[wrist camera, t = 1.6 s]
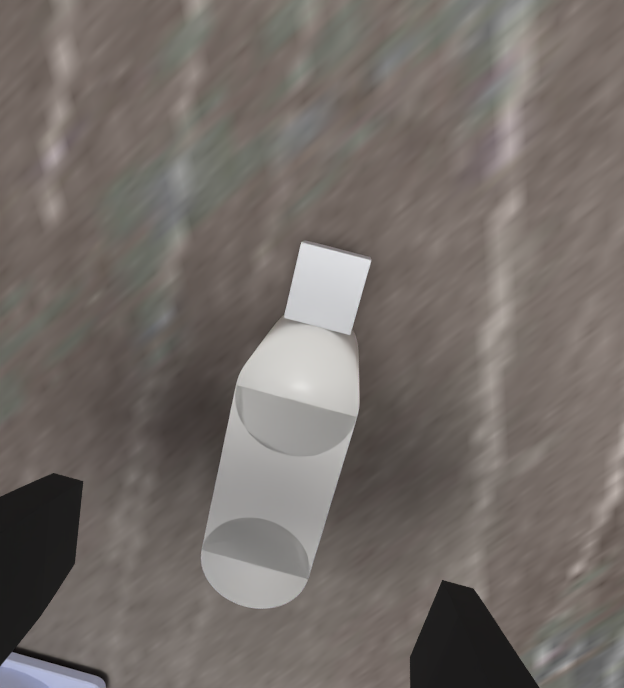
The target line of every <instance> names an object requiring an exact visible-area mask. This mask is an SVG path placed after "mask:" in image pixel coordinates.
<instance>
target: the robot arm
mask: <svg viewBox="0 0 624 688" xmlns="http://www.w3.org/2000/svg"><path fill="white" fill-rule="evenodd" d="M82 488H83V481H80V480H77V479H73V478H69V477H66V476H62V475H58V474H55V473H53V474H50V475H48V476H46V477H43V478H41V479H39V480H36V481H34V482H32V483H30V484H27V485H25V486H23V487H21V488H19V489H16V490H14V491H12V492H10V493H8V494H5V495H3V496H1V497H0V688H106V685H105V682H104V681H103V679H101V678H100V677H98V676H95V675H92V674H88V673H85V672H81V671H78V670H74V669H71V668H67V667H64V666H60V665H57V664H53V663H49V662H46V661H42V660H39V659H35V658H32V657H28V656H25V655H21V654H18V653H14V652H12V651H13V650H14V649H15V648H16V646H17V645H18V644H19V643H20V641H21V640H22V639H23V638H24V636H25V635H26V634H27V633H28V631H29V630H30V629H31V628H32V626H33V625H34V624H35V622H36V621H37V620H38V619H39V617H40V616H41V615H42V613H43V612H44V610H45V609H46V607H47V606H48V604H49V603H50V601H51V600H52V598H53V597H54V595H55V594H56V592H57V591H58V589H59V588H60V586H61V584H62V583H63V581H64V580H65V578H66V577H67V575H68V573H69V572H70V570H71V569H72V567H73V565H74V564H75V556H76V546H77V536H78V527H79V517H80V507H81V497H82ZM410 688H539V686H538V685H537V683H536V682H535V680H534V679H533V677H532V676H531V674H530V673H529V671H528V670H527V669H526V667H525V666H524V664H523V663H522V661H521V659H520V658H519V656H518V655H517V653H516V652H515V650H514V649H513V647H512V646H511V644H510V643H509V641H508V640H507V638H506V637H505V635H504V634H503V632H502V631H501V629H500V628H499V626H498V624H497V623H496V621H495V620H494V618H493V617H492V615H491V614H490V612H489V611H488V609H487V608H486V606H485V605H484V603H483V602H482V600H481V599H480V597H479V596H478V594H477V593H476V591H475V590H474V589H473V588H469V587H466V586H462V585H458V584H455V583H451V582H447V581H444V580H442V582H441V585H440V587H439V589H438V592H437V594H436V597H435V599H434V601H433V604H432V606H431V608H430V611H429V613H428V616H427V618H426V620H425V623H424V625H423V627H422V630H421V632H420V635H419V637H418V639H417V642H416V644H415V647H414V649H413V651H412V654H411V656H410Z"/></svg>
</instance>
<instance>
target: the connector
mask: <svg viewBox="0 0 624 688" xmlns="http://www.w3.org/2000/svg"><path fill="white" fill-rule="evenodd" d="M370 263H371V258H370V257H369V256H365V255H361V254H357V253H353V252H349V251H345V250H342V249H338V248H334V247H330V246H326V245H322V244H318V243H314V242H310V241H307V240H305V241H303V242H301V246H300V250H299V255H298V259H297V263H296V267H295V272H294V276H293V280H292V285H291V289H290V293H289V298H288V302H287V306H286V311H285V315H283V316H282V317H281V318H280V319H279V320H278V321H277V322H276V323H275V324H274V326H273V327H272V329H271V330H270V331H269V333H268V334H267V335H266V337H265V338H264V339H263V341H262V342H261V343H260V345H259V346H258V348H257V349H256V350H255V352H254V353H253V354H252V356H251V357H250V358H249V360H248V361H247V363H246V364H245V365H244V367H243V369H242V370H241V372H240V374H239V377H238V380H237V383H236V387H235V392H234V397H233V402H232V407H231V411H230V416H229V421H228V426H227V431H226V435H225V440H224V445H223V450H222V454H221V459H220V464H219V469H218V474H217V478H216V483H215V488H214V493H213V498H212V502H211V507H210V512H209V517H208V522H207V526H206V531H205V536H204V541H203V546H202V551H201V564H202V569H203V572H204V574H205V576H206V578H207V580H208V581H209V583H210V584H211V585H212V587H213V588H214V589H215V590H216V591H217V592H218V593H219V594H221V595H222V596H223V597H225V598H226V599H228V600H230V601H232V602H234V603H236V604H239V605H242V606H245V607H250V608H257V609H266V608H274V607H278V606H281V605H284V604H286V603H288V602H290V601H291V600H293V599H294V598H296V597H297V596H298V595H299V594H300V593H301V591H302V590H303V589H304V587H305V585H306V583H307V581H308V578H309V574H310V571H311V568H312V565H313V561H314V558H315V555H316V551H317V548H318V545H319V541H320V538H321V535H322V532H323V528H324V525H325V522H326V518H327V515H328V512H329V509H330V505H331V502H332V499H333V495H334V492H335V489H336V485H337V482H338V479H339V476H340V472H341V469H342V466H343V462H344V459H345V456H346V452H347V449H348V446H349V443H350V439H351V436H352V433H353V429H354V426H355V423H356V419H357V416H358V411H359V348H358V342H357V338H356V335H355V333H354V331H353V329H352V327H353V323H354V320H355V316H356V313H357V309H358V306H359V302H360V299H361V295H362V291H363V288H364V284H365V281H366V277H367V274H368V270H369V267H370Z"/></svg>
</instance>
